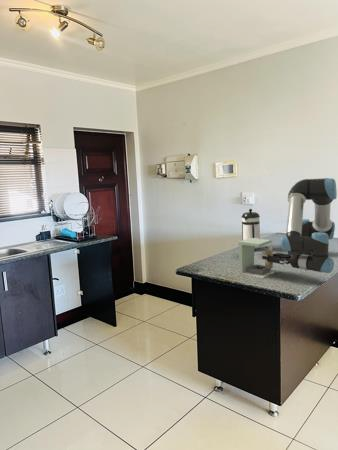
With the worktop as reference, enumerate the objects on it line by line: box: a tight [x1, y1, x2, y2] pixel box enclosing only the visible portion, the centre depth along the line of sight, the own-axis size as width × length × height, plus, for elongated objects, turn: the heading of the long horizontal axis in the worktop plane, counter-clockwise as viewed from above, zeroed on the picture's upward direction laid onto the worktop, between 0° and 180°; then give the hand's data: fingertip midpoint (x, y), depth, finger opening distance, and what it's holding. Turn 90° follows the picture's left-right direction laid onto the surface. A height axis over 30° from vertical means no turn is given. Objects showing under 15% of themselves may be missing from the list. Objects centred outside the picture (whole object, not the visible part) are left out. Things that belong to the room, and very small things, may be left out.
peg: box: [264, 246, 274, 269], centre depth 189 cm, size 4×4×11 cm
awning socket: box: [238, 238, 276, 279], centre depth 194 cm, size 15×13×18 cm
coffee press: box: [241, 208, 262, 252], centre depth 251 cm, size 17×16×30 cm
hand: (260, 255), depth 193 cm, fingers closed on peg, 4 cm apart
